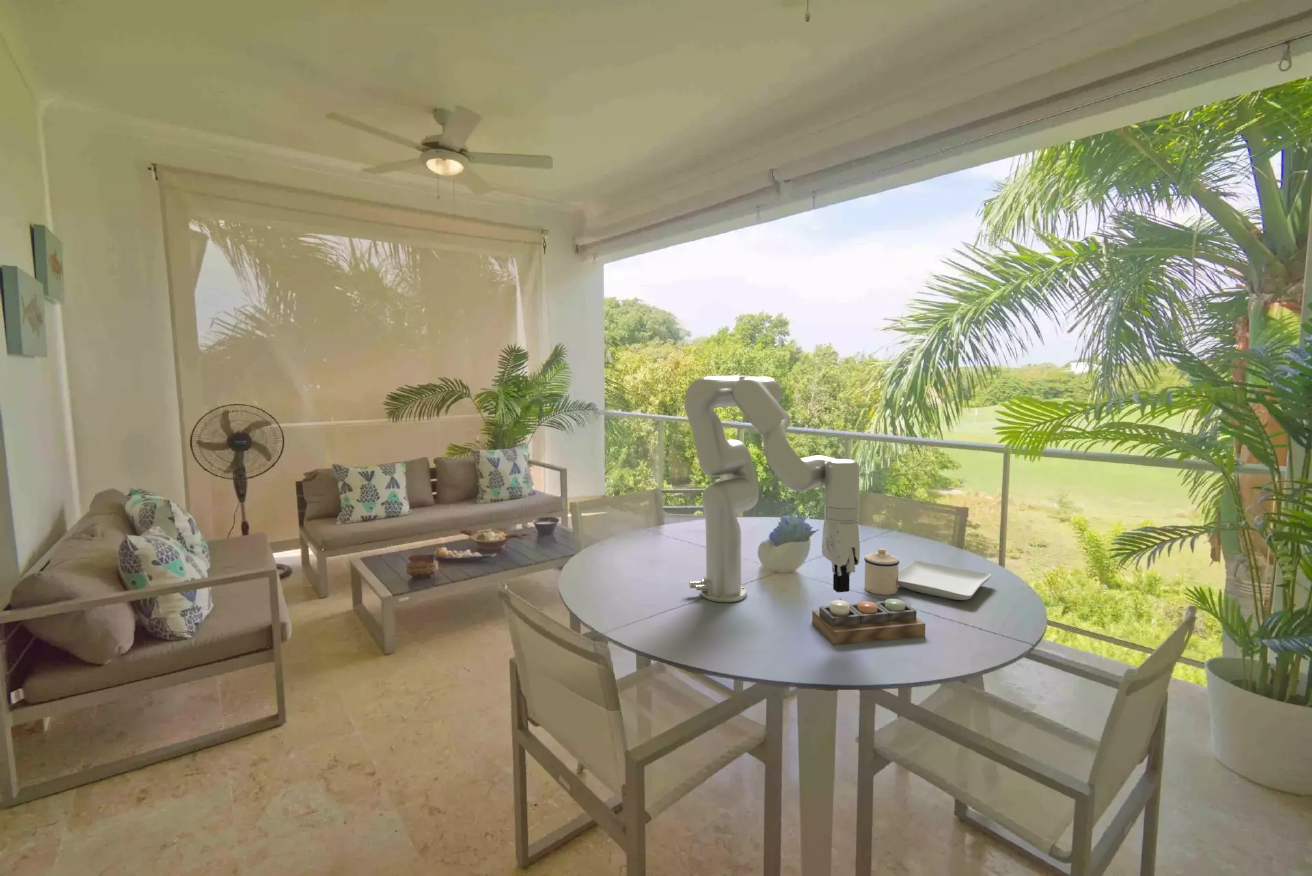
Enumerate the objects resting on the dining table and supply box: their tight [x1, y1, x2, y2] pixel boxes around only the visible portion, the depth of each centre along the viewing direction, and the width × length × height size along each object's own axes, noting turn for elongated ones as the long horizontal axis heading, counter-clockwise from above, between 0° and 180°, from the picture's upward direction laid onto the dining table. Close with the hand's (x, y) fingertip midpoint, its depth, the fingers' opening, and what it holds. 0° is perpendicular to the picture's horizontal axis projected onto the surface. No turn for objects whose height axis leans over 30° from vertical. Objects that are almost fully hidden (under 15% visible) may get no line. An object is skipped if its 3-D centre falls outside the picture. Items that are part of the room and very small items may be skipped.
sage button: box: [884, 598, 906, 612], centre depth 139 cm, size 4×4×2 cm
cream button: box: [829, 599, 851, 616], centre depth 136 cm, size 4×4×2 cm
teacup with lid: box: [863, 547, 900, 596], centre depth 164 cm, size 12×9×12 cm
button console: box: [811, 600, 926, 646], centre depth 138 cm, size 22×12×5 cm, turn 99°
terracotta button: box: [857, 600, 878, 614], centre depth 138 cm, size 4×4×2 cm
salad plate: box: [898, 560, 992, 601], centre depth 164 cm, size 21×21×3 cm
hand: (841, 590), depth 136 cm, fingers closed
